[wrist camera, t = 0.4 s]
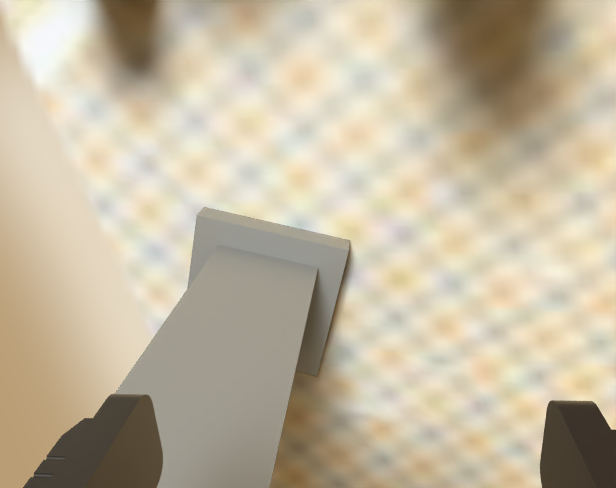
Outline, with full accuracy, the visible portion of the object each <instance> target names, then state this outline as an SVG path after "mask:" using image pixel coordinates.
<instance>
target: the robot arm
mask: <svg viewBox="0 0 616 488" xmlns="http://www.w3.org/2000/svg"><path fill="white" fill-rule="evenodd" d="M162 467H163V451H162V445H161V441H160V436H159V431H158V426H157V421H156V416H155V412H154V407H153V402H152V399H151V398H150V396H149V395H147V394H112V395H110V396H109V397H108V398H107V399H106V401H105V402H104V403H103V405H102V406H101V408H100V409H99V410H98V412H97V413H96V415H95V416H94V418H93V419H92V418H85V419H83V420H82V421H80V422H79V423H78V424H77V425H75V426H74V427H73V428H71V429H70V430H69V431H68V432H66V433H65V434H63V435H62V436H61V438H60V439H59V440H58V442H57V443H56V444H55V446H54V447H53V448H52V450H51V451H50V452H49V454H48V455H47V459H46V460H43V462H42V463H41V464H40V466H39V467H38V469H37V470H36V471H35V472H34V477H31V478H30V479H29V480H28V482H27V483H26V484H25V486H24V487H23V488H157V486H158V483H159V480H160V477H161V473H162ZM540 474H541V483H542V488H616V430H611V429H610V427H609V425H608V424H607V422H606V420H605V418H604V417H603V415H602V413H601V412H600V410H599V408H598V407H597V405H596V404H595V403H594V402H592V401H550V402H549V404H548V407H547V412H546V420H545V428H544V436H543V444H542V452H541V461H540Z"/></svg>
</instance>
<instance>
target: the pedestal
mask: <svg viewBox="0 0 616 488" xmlns="http://www.w3.org/2000/svg"><path fill="white" fill-rule="evenodd" d="M349 245H350V240H345V239H341V238H337V237H332V236H328V235H324V234H319V233H315V232H310V231H306V230H302V229H297V228H293V227H289V226H284V225H280V224H276V223H271V222H267V221H262V220H258V219H254V218H249V217H245V216H241V215H236V214H232V213H227V212H223V211H219V210H214V209H210V208H206V207H204V208H203V209H202V210H201V211H200V212H199V213H198V215H197V218H196V226H195V234H194V242H193V250H192V258H191V265H190V273H189V281H188V289H187V291H186V292H185V293H184V295H183V296H182V298H181V299H180V301H179V302H178V304H177V305H176V306H175V308H174V309H173V311H172V312H171V314H170V315H169V316H168V318H167V319H166V321H165V322H164V324H163V325H162V327H161V328H160V329H159V331H158V332H157V334H156V335H155V337H154V338H153V339H152V341H151V342H150V344H149V345H148V347H147V348H146V350H145V351H144V352H143V354H142V355H141V357H140V358H139V360H138V361H137V362H136V364H135V365H134V367H133V368H132V370H131V371H130V372H129V374H128V376H127V377H126V378H125V380H124V381H123V383H122V384H121V385H120V387H119V389H118V390H117V391H116V393H115V394H147V395H149V396H150V398H151V399H152V402H153V407H154V412H155V416H156V421H157V426H158V431H159V436H160V441H161V445H162V451H163V467H162V473H161V477H160V480H159V483H158V486H157V488H270V483H271V479H272V474H273V470H274V465H275V460H276V456H277V451H278V447H279V442H280V438H281V433H282V429H283V424H284V420H285V415H286V411H287V406H288V402H289V397H290V393H291V388H292V384H293V379H294V375H295V371H296V372H300V373H305V374H309V375H313V376H317V375H318V371H319V367H320V363H321V359H322V355H323V351H324V347H325V343H326V339H327V335H328V331H329V327H330V323H331V320H332V316H333V312H334V308H335V304H336V300H337V296H338V292H339V288H340V284H341V280H342V276H343V272H344V268H345V264H346V260H347V256H348V252H349Z"/></svg>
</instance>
